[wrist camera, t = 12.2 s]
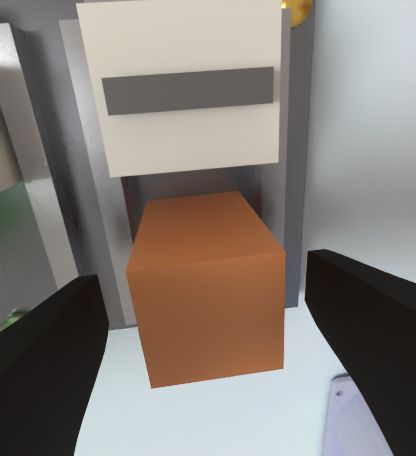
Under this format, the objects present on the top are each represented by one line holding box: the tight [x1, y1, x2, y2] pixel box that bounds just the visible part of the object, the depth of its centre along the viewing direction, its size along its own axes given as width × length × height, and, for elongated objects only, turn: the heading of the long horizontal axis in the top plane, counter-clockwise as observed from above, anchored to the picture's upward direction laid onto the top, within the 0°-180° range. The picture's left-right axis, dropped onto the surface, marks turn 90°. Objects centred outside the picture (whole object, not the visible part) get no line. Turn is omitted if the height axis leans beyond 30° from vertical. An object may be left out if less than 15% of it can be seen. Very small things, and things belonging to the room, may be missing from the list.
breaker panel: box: [0, 0, 315, 332], centre depth 12 cm, size 14×18×3 cm
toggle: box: [76, 0, 282, 178], centre depth 9 cm, size 4×5×5 cm
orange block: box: [125, 191, 286, 389], centre depth 11 cm, size 4×4×6 cm
